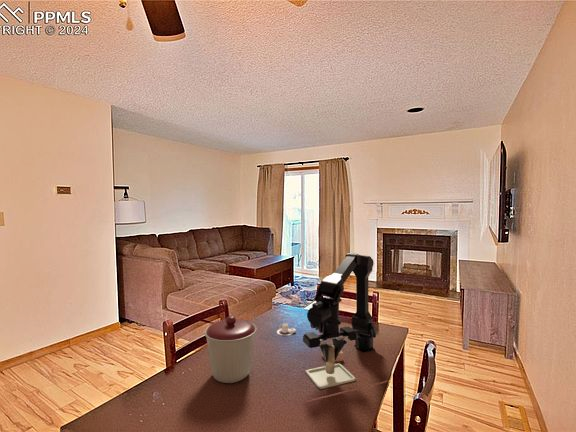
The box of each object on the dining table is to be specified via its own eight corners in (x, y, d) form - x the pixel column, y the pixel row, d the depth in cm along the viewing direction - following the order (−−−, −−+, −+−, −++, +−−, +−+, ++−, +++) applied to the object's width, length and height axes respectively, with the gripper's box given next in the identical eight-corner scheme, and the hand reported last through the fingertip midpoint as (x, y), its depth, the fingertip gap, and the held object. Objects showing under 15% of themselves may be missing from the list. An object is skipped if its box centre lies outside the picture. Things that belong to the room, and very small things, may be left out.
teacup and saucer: (298, 332, 148) (298, 323, 148) (289, 338, 142) (289, 329, 142) (282, 328, 153) (282, 320, 153) (273, 334, 146) (273, 325, 146)
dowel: (331, 368, 111) (331, 343, 111) (336, 373, 108) (336, 347, 108) (324, 370, 110) (324, 345, 110) (328, 374, 107) (328, 349, 107)
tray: (339, 366, 117) (339, 363, 117) (356, 381, 107) (356, 378, 106) (305, 373, 112) (305, 370, 112) (319, 390, 101) (319, 387, 101)
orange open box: (335, 354, 126) (335, 345, 126) (343, 361, 120) (343, 352, 120) (321, 357, 124) (321, 348, 124) (329, 364, 118) (329, 355, 118)
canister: (264, 366, 116) (264, 311, 115) (242, 395, 99) (241, 329, 98) (222, 358, 122) (221, 305, 121) (194, 384, 105) (193, 322, 104)
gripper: (341, 306, 119) (341, 346, 120) (296, 312, 112) (296, 354, 113) (358, 316, 109) (358, 359, 109) (309, 323, 102) (309, 370, 103)
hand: (330, 360), depth 109 cm, fingers closed on dowel, 3 cm apart
